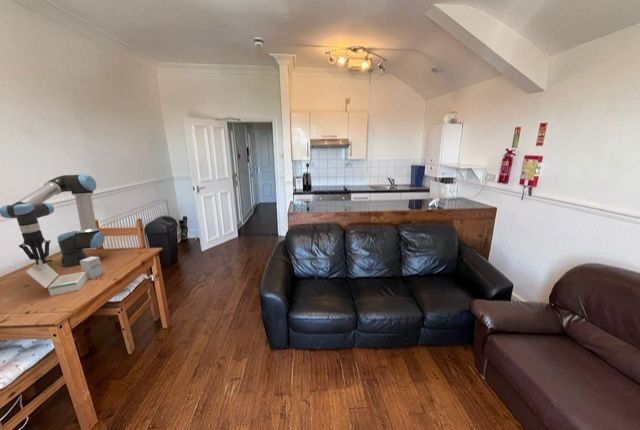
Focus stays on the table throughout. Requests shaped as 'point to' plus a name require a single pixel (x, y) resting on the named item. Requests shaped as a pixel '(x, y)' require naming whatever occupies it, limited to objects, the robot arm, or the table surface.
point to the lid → (42, 274)
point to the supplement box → (91, 267)
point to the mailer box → (68, 283)
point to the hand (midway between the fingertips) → (43, 269)
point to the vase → (52, 265)
